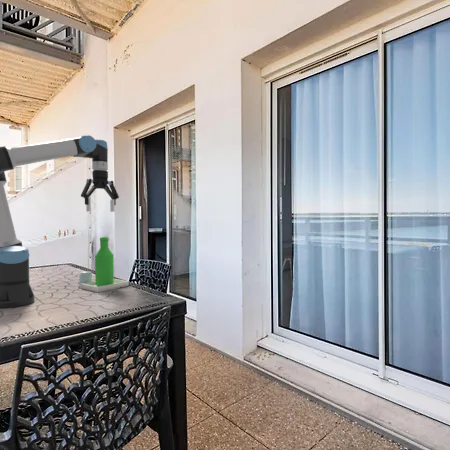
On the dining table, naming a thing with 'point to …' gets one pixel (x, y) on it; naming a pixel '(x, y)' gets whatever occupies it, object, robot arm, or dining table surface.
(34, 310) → the dining table surface
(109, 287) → the tray
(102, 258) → the bottle
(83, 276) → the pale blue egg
